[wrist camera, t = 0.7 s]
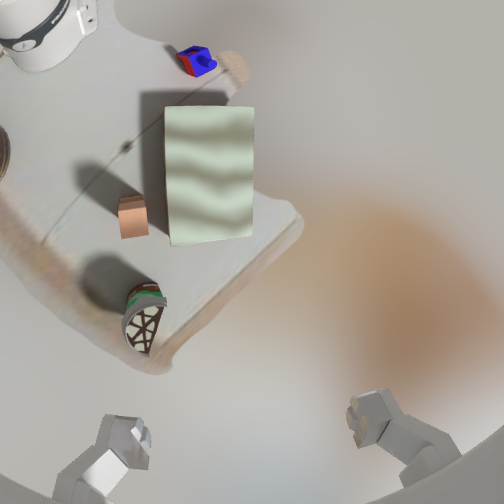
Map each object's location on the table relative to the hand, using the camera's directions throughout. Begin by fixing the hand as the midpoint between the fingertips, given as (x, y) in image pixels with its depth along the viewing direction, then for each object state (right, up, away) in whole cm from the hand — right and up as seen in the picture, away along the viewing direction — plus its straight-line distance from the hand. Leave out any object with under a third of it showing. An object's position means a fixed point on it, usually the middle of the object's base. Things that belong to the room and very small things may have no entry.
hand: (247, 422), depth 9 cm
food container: (-22, -3, +42) cm, 47 cm away
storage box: (-8, +20, +38) cm, 44 cm away
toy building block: (-10, +39, +30) cm, 50 cm away
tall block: (-20, +14, +35) cm, 43 cm away
